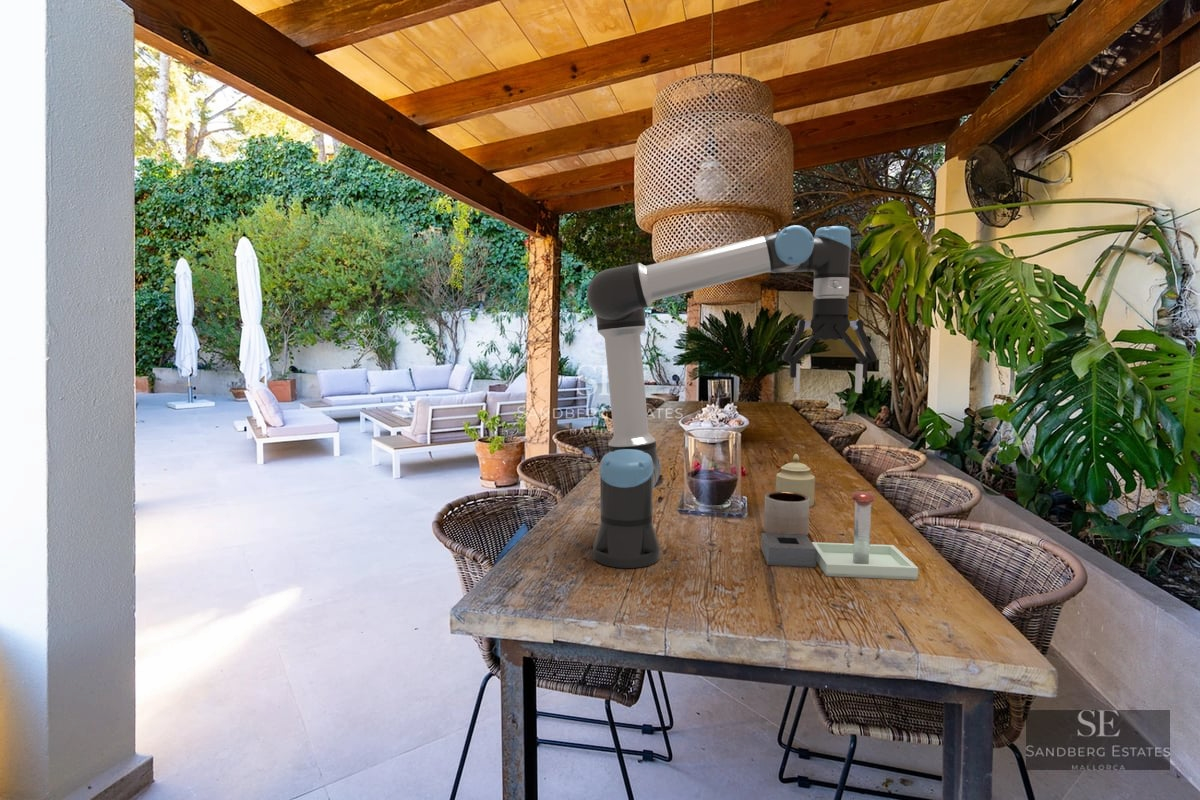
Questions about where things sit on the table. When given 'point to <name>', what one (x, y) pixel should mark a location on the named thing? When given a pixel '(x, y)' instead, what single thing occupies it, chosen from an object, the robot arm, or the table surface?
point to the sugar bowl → (796, 479)
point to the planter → (786, 513)
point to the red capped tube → (862, 526)
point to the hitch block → (788, 550)
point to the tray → (881, 564)
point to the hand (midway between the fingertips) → (827, 392)
